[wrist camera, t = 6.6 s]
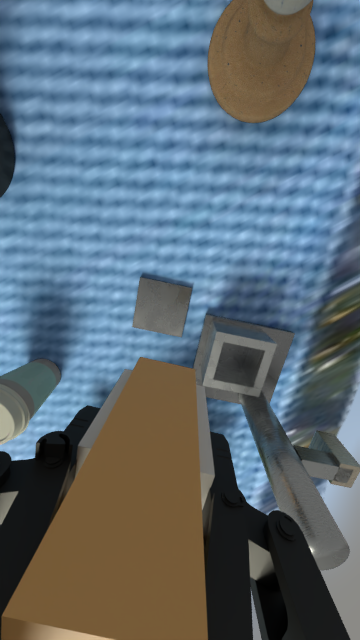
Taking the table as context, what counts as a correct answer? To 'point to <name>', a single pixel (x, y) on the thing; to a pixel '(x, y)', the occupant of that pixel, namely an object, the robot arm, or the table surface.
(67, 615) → the tan rectangular bar
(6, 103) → the table surface
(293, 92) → the candle holder
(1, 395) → the coffee cup
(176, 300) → the plate
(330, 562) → the grey post stand
